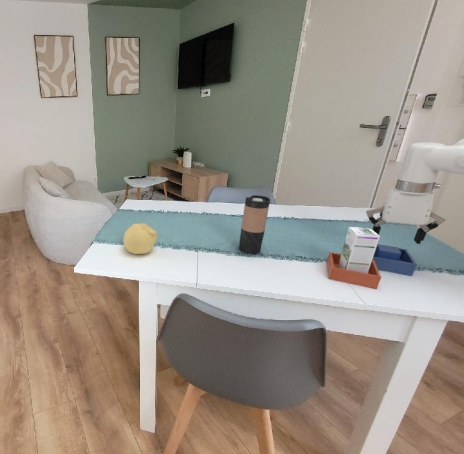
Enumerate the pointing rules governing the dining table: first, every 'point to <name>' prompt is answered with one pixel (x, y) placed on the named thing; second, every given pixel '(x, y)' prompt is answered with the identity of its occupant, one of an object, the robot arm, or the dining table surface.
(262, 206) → the travel mug
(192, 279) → the dining table surface
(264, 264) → the dining table surface
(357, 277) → the terracotta bin
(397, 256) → the blue block
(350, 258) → the syrup box
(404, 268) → the blue bin
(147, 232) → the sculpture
